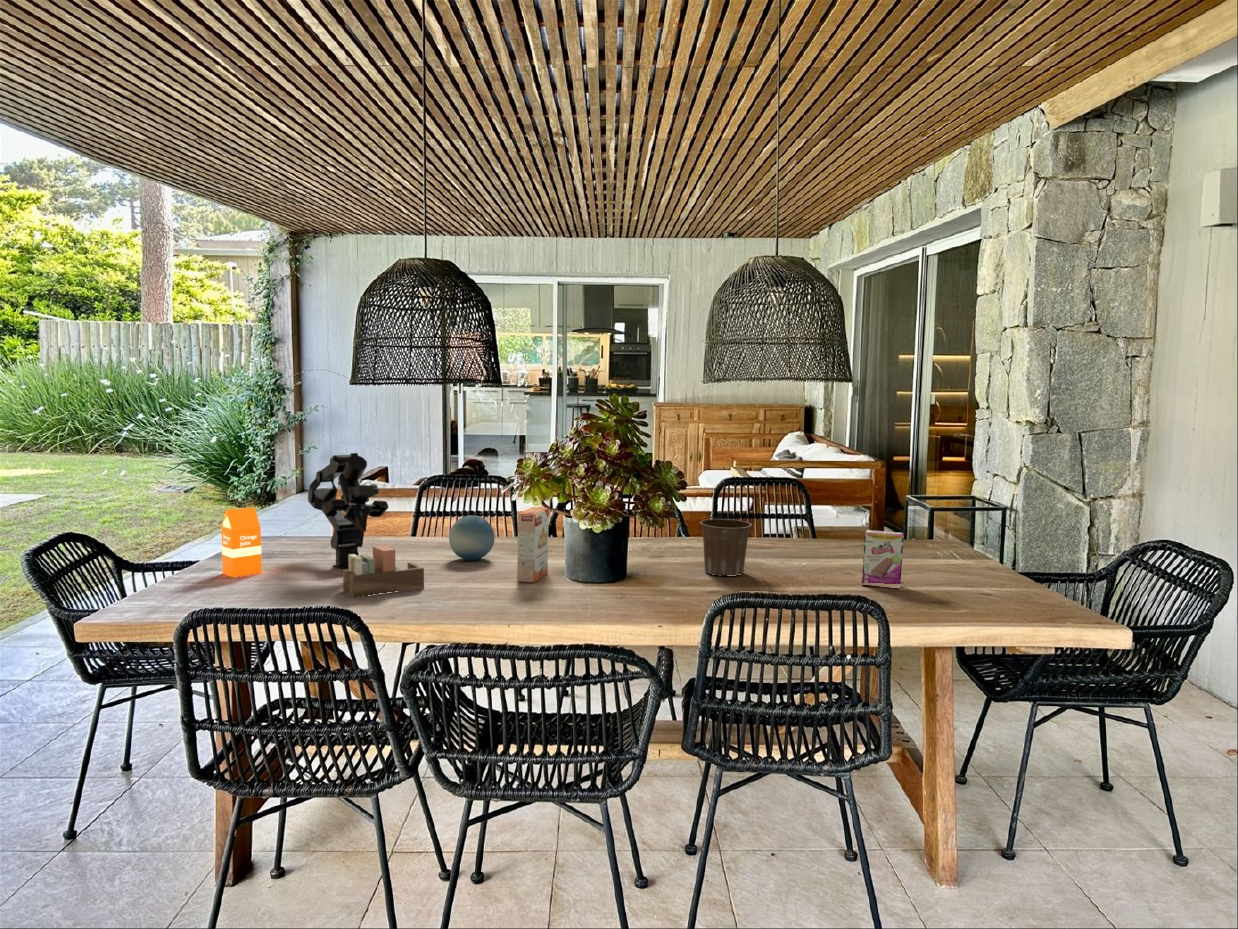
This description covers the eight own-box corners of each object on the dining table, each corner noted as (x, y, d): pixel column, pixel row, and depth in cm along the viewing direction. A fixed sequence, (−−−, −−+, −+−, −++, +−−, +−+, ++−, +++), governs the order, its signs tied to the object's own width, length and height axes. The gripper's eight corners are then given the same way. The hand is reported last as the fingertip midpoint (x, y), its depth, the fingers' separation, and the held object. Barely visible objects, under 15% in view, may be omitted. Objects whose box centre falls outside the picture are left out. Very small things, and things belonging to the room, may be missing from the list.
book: (373, 587, 235) (372, 546, 234) (385, 585, 237) (384, 545, 236) (383, 593, 229) (383, 551, 228) (395, 591, 231) (395, 549, 230)
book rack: (342, 590, 231) (342, 553, 230) (410, 581, 243) (410, 546, 242) (354, 598, 223) (353, 560, 222) (424, 588, 234) (423, 552, 233)
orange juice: (222, 573, 249) (220, 508, 247) (251, 568, 256) (249, 505, 254) (232, 577, 244) (230, 511, 242) (262, 573, 250) (260, 508, 249)
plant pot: (760, 573, 259) (762, 523, 258) (731, 581, 248) (732, 529, 246) (718, 565, 270) (720, 517, 269) (688, 572, 259) (689, 522, 257)
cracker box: (535, 583, 242) (536, 513, 240) (516, 582, 243) (516, 513, 241) (549, 573, 256) (549, 507, 254) (530, 572, 257) (531, 506, 255)
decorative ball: (474, 566, 263) (474, 520, 262) (439, 561, 270) (439, 516, 269) (503, 558, 276) (503, 514, 274) (469, 553, 283) (469, 510, 282)
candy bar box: (861, 586, 244) (864, 532, 243) (862, 582, 249) (864, 529, 247) (901, 590, 241) (903, 535, 239) (901, 586, 245) (903, 532, 244)
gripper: (334, 472, 243) (347, 516, 237) (389, 475, 257) (403, 517, 250) (318, 493, 249) (330, 537, 243) (373, 495, 263) (386, 536, 256)
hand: (364, 531), depth 248 cm, fingers closed
